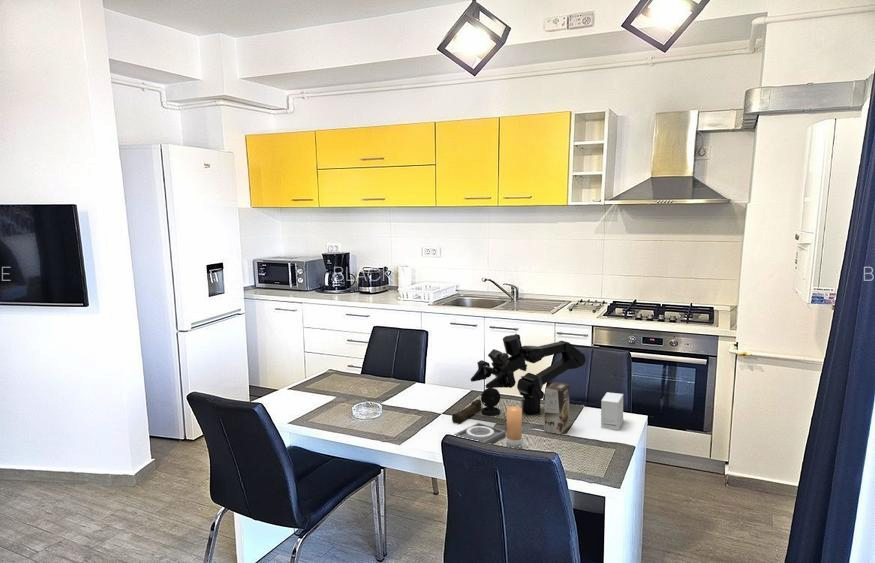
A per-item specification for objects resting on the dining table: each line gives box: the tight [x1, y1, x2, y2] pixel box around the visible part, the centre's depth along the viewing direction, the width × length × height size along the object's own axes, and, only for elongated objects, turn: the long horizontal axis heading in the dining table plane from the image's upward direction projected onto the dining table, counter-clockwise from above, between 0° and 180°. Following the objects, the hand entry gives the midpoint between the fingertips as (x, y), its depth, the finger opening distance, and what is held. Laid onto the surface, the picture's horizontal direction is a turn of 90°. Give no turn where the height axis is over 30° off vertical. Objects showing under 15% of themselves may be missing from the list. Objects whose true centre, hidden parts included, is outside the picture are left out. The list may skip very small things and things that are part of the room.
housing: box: [453, 422, 507, 445], centre depth 196 cm, size 14×12×2 cm
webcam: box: [480, 388, 501, 417], centre depth 220 cm, size 8×8×10 cm
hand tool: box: [451, 398, 482, 425], centre depth 217 cm, size 19×4×5 cm, turn 144°
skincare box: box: [600, 391, 624, 431], centre depth 207 cm, size 10×6×10 cm, turn 152°
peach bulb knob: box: [506, 405, 523, 449], centre depth 189 cm, size 5×5×13 cm
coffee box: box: [543, 381, 570, 435], centre depth 203 cm, size 9×6×16 cm
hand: (478, 383), depth 206 cm, fingers open, 9 cm apart
